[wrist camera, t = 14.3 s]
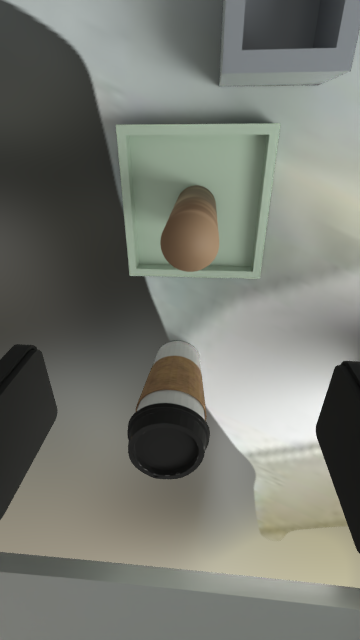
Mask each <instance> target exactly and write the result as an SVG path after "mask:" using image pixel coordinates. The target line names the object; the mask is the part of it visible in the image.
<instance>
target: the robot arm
mask: <svg viewBox="0 0 360 640" xmlns="http://www.w3.org/2000/svg"><path fill="white" fill-rule="evenodd" d="M56 416H57V406H56V403H55V399H54V395H53V392H52V388H51V385H50V381H49V377H48V373H47V370H46V366H45V362H44V359H43V355H42V352H41V351H40V350H37V348H36V347H35V346H34V345H18V344H17V345H14V346H13V347H12V348H11V349H10V350H9V351H8V352H7V353H6V354H5V355H4V356H3V357H2V359H1V360H0V519H1V518H2V517H3V515H4V513H5V512H6V510H7V508H8V506H9V504H10V502H11V501H12V499H13V497H14V495H15V493H16V491H17V490H18V488H19V485H20V484H21V482H22V480H23V478H24V477H25V475H26V473H27V471H28V469H29V468H30V466H31V464H32V462H33V460H34V458H35V456H36V455H37V453H38V451H39V449H40V447H41V445H42V444H43V442H44V440H45V438H46V436H47V434H48V432H49V431H50V429H51V427H52V425H53V423H54V421H55V419H56ZM316 436H317V439H318V442H319V445H320V447H321V450H322V453H323V456H324V459H325V462H326V464H327V467H328V470H329V473H330V476H331V478H332V481H333V484H334V487H335V490H336V493H337V495H338V498H339V501H340V504H341V507H342V510H343V512H344V515H345V518H346V521H347V524H348V527H349V529H350V532H351V535H352V538H353V541H354V543H355V546H356V549H357V551H358V552H359V553H360V362H355V361H343V362H342V363H341V365H337V366H336V367H335V369H334V372H333V375H332V378H331V381H330V384H329V387H328V391H327V394H326V397H325V400H324V403H323V406H322V409H321V412H320V415H319V419H318V422H317V425H316ZM0 640H360V589H359V588H352V587H344V586H336V585H327V584H319V583H309V582H300V581H290V580H281V579H271V578H262V577H261V578H260V577H252V576H242V575H233V574H223V573H213V572H203V571H193V570H182V569H173V568H163V567H153V566H142V565H132V564H122V563H111V562H100V561H91V560H80V559H70V558H59V557H48V556H37V555H26V554H15V553H5V552H0Z"/></svg>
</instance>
